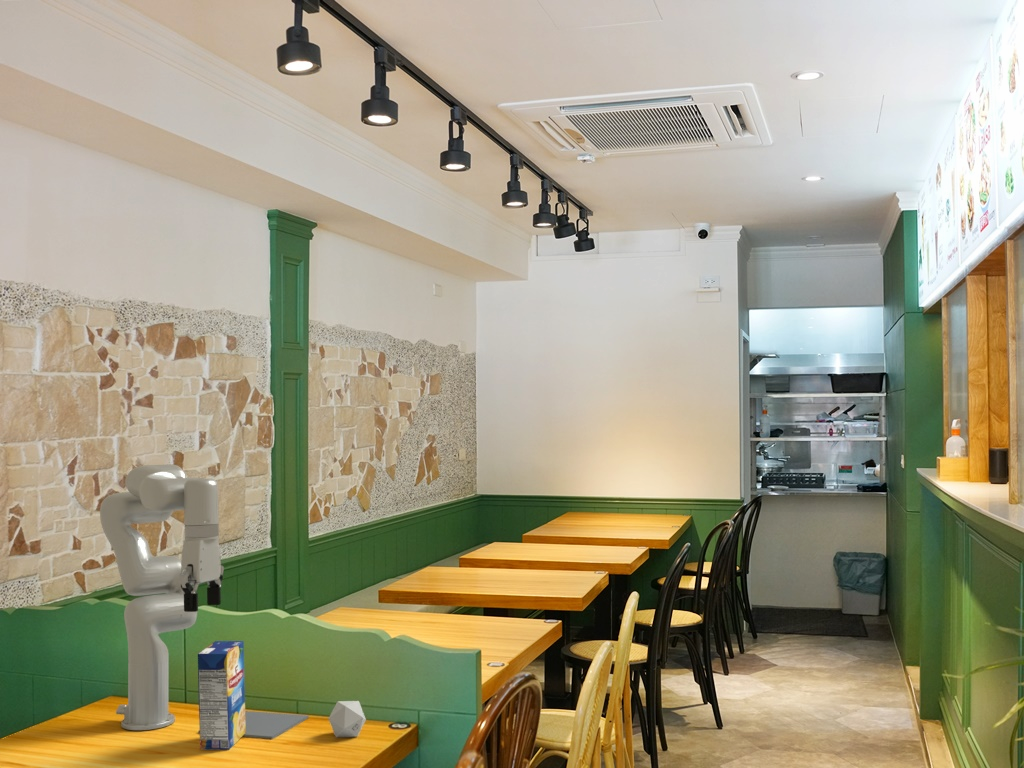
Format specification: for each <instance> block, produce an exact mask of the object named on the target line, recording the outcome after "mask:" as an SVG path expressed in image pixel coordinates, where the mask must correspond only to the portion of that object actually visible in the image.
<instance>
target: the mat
mask: <svg viewBox="0 0 1024 768" xmlns="http://www.w3.org/2000/svg"><path fill="white" fill-rule="evenodd" d="M307 719H309V715H308V714H307V715H306V714H294V713H292V714H291V713H281V712H279V713H278V712H265V711H251V710H245V725H246V733H245V734H244V735H243V736H242V737H241V738H253V739H265V740H266V739H267V740H273V739H275V738H277V737H279V736H280V735H283V734H285V732H287V731H289V730H290V729H293V727H296V726H297V725H299V724H301V723H303V722H304V721H306V720H307ZM198 734H200V729H199V730H198Z"/></svg>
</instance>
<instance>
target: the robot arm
mask: <svg viewBox="0 0 1024 768" xmlns="http://www.w3.org/2000/svg"><path fill="white" fill-rule="evenodd" d="M125 487H126V489H127V491H123V492H121V491H120V492H116V493H111V494H110V495H107V496H106V497H105V498H104V499H103V500H102V502H101V504H100V508H99V516H100V517H99V518H100V524H101V528H102V530H103V534H104V535H105V537H106V540H108V543H109V544H110V546H111V548H112V550H113V552H114V557H115V560H116V563H117V564H116V565H117V568H118V573H119V577H120V581H121V584H122V586H123V590H124V592H125V593H126V594H127V595H129V596H134V597H136V598H134V599H132V600H130V601H129V602H128V603H127V604H126V605H125V608H124V613H123V615H124V616H123V617H124V623H125V630H126V637H127V652H128V653H127V657H128V658H127V659H128V660H127V661H128V663H127V665H128V666H127V667H128V668H127V671H128V673H127V681H128V682H127V686H128V687H127V692H128V693H127V694H128V695H127V700H128V701H127V704H119V705H118V707H117V709H116V711H115V714H116V715H123V717H124V718H123V719H122V720H121V725H120V727H121V728H123V729H125V730H126V731H127V730H128V731H149V730H155V729H161V728H165V727H167V726H170V725H172V724H174V722H175V721H176V716H175V714H173V713H171V712H169V693H170V692H169V686H170V685H169V681H170V680H169V672H170V671H169V669H170V668H169V658H170V657H169V656H170V655H169V648H168V646H167V645H166V643H165V642H164V641H163V640H162V639H161V637H160V636H159V635H160V634H163V633H167V632H176V631H182V630H186V629H189V628H191V627H192V626H194V625H195V623H196V621H197V618H198V611H199V598H198V597H199V596H198V595H199V593H197V590H198V588H199V585H201V584H205V583H206V584H207V586H208V587H206V592H207V593H206V599H207V600H206V604H207V605H208V606H221V601H222V600H221V597H222V596H221V595H222V594H221V590H222V589H221V588H222V581H223V578H224V570H225V567H224V566H223V565H222V563H221V551H220V543H219V541H220V540H219V537H220V532H219V530H220V523H219V522H220V521H219V520H220V519H219V483H218V482H217V480H216V479H214V478H205V477H204V478H203V477H187V475H186V472H185V470H183V468H182V467H180V466H179V465H177V464H147V465H139V466H137V467H134V468H133V469H131V470H130V471H129V472H128V473H127V475H126V477H125ZM176 511H184V514H183V515H184V517H183V521H184V523H183V524H184V540H183V543H182V550H181V558H180V557H178V556H176V555H160V556H155V555H153V553H152V552H151V548H150V543H149V542H148V540H147V538H146V537H145V536H144V535H143V534H142V533H141V532H140V531H139V530H137V529H136V528H134V527H133V526H132V525H137V524H152V523H154V524H155V523H161V522H164V521H167V520H169V518H171V516H172V515H173V513H174V512H176Z"/></svg>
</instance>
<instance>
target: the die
mask: <svg viewBox="0 0 1024 768" xmlns="http://www.w3.org/2000/svg"><path fill="white" fill-rule="evenodd" d="M328 721H329V723H330V726H331V728H332V731H333V733H334V736H335V738H358V737H359V735H360V733H361V731H362V728H363V726H364V725H365V722H366V721H367V718H366V716H365V713H364V711H363V708H362V705H361V703H360V701H359V700H343V701H342V700H341V701H340V700H339V701H337V702H336V704H335V705H334V707H333V709H332V711H331V712H330V714H329V716H328ZM357 736H358V737H357Z"/></svg>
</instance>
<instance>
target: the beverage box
mask: <svg viewBox="0 0 1024 768" xmlns="http://www.w3.org/2000/svg"><path fill="white" fill-rule="evenodd" d="M244 643H245V642H244V640H215V641H213V642H212V643H211V644H209V645H208V646H206V647H205V648H204V649H202V650H201V651H200V652H198V653H197V673H198V674H197V678H198V679H197V681H198V683H197V684H198V722H199V724H198V726H199V730H200V733H199V750H201V751H203V750H205V751H206V750H210V751H213V750H214V751H217V750H218V751H219V750H221V751H230V750H231V748H232V747H233V746H234V745H235V744H237V742H238V741H239V740H240V739H241V738H243V737H242V736H243V735H244V734H245V733H246V725H245V711H246V696H245V695H246V692H245V691H246V689H245V687H246V686H245V685H246V683H245V653H244V651H245V649H244V648H245V647H244V646H245V645H244Z"/></svg>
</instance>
